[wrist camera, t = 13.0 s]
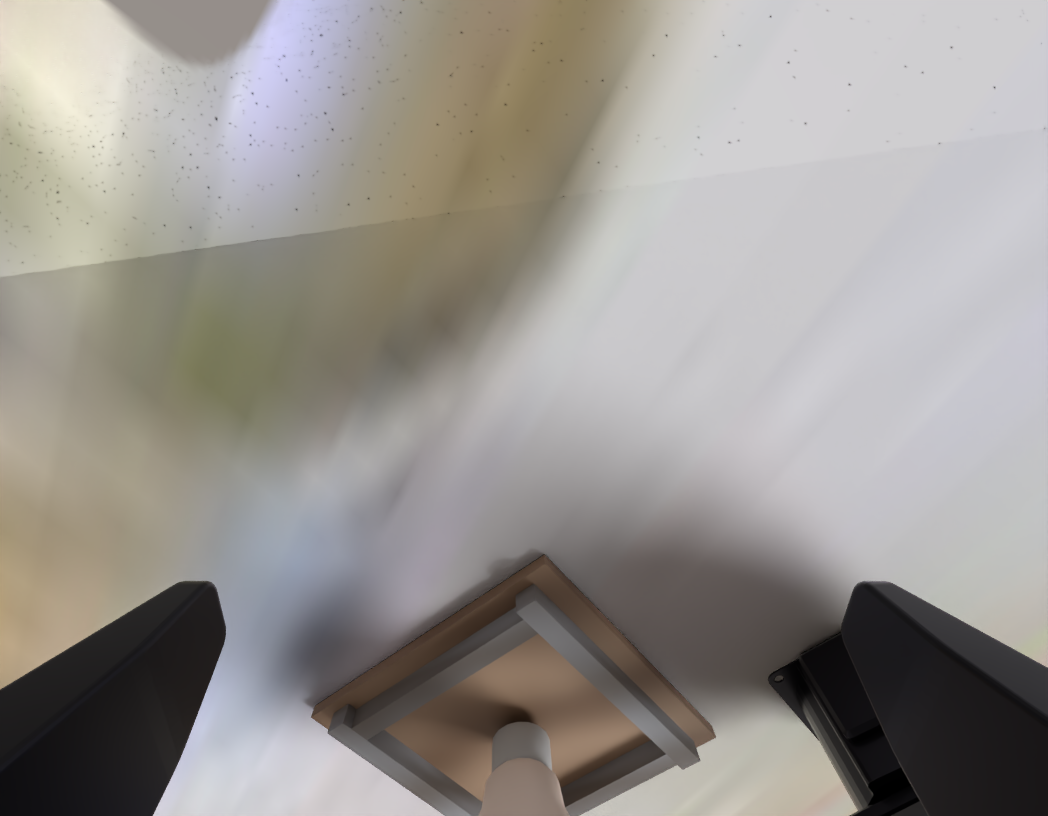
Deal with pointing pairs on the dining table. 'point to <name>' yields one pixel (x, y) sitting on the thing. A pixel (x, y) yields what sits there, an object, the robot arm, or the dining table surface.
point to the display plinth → (517, 699)
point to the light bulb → (522, 774)
